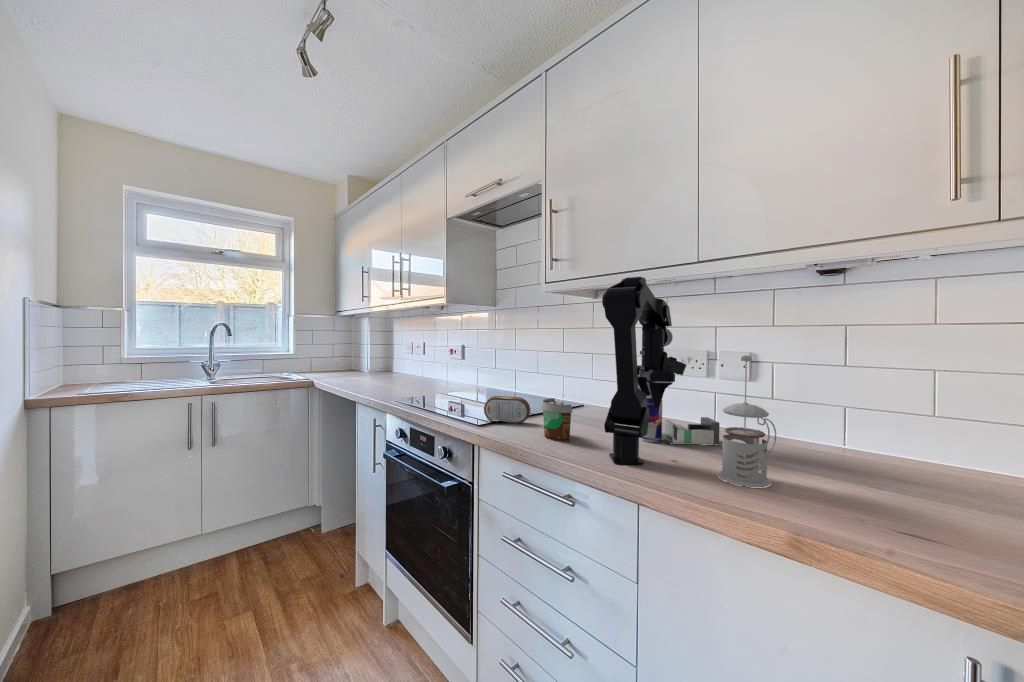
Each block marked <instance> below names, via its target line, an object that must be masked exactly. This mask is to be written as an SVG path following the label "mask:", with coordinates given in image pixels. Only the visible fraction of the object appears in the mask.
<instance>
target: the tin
mask: <svg viewBox="0 0 1024 682" xmlns="http://www.w3.org/2000/svg"><path fill="white" fill-rule="evenodd" d="M483 412H484V415H485V417H486V419H487V420H489V421H490V420H498V421H503V422H507V423H506V424H514V423H519V424H523V423H524V422H525V421H526V420H527V419H528V418H529V417H530V414H531V407H530V404H529V402H528V401H527V400H526V399H525V398H523V397H520V396H505V395H493V396H490V397H489V398H488V400H486V402H485V403H484V407H483Z"/></svg>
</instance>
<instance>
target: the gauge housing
mask: <svg viewBox="0 0 1024 682" xmlns="http://www.w3.org/2000/svg"><path fill="white" fill-rule="evenodd" d="M662 438H663V439H664V440H665V441H666V442H667V443H666V442H665V441H664V440H663V439H662V440H663V441H664V442H665V443H666V444H668V443H669V444H668V445H673V444H719V445H720V422H718V421H716V420H715V419H712V418H710V417H708V416H707V417H705V416H703V417H702V416H701V417H700V424H699V423H687V430H681V429H677V440H675V429H673V439H672V438H671V437H669V436H668V435H667V434H665V433H662ZM671 443H672V444H671Z"/></svg>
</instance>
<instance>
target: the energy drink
mask: <svg viewBox="0 0 1024 682" xmlns="http://www.w3.org/2000/svg"><path fill="white" fill-rule="evenodd" d="M646 396H647V408H649V423H648V432H647V435H645V436H644V437H642V438H640V439H641V440H642V442H645V441H647V442H646V443H650V442H659V443H661V442H662V441H663V439H662V434H663V432H662V431H663V399H662V400H661V403H660V406H659V408H655V407H654V404H653V401H652V398H651V395H646Z"/></svg>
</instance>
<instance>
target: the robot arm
mask: <svg viewBox="0 0 1024 682" xmlns="http://www.w3.org/2000/svg"><path fill="white" fill-rule="evenodd" d="M655 296H656V295H655V294H653V292H652V291H651V289H650V288H649V286H648V284H647V279H646V278H645V277H642V276H629V277H625V278H623V279H622V280H621V281H620V282H618V283H616V284H614V285H611V286H609V287H608V288H607V289H606V290H605V292H604V293H603V295H602V299H601V300H602V301H601V303H602V307H603V309H604V316H605V319H606V320H607V322H608V323H609V324H610V326H611V327H612V329H613V340H614V356H615V371H616V374H615V375H616V387H617V389H616V392H615V394H614V395H613V396H612V399H611V400H610V407H609V409H608V412H607V414H606V419H605V422H604V426H603V427H604V432H605V433H607V434H609V433H610V434H612V435H613V436H612V452H610V453H609V454H608V456H609V458H610V460H611V461H612V462H613V464H619V465H620V464H621V465H644V461H643V459H642V458H641V457H640V455H639V454H640V439H641V438H642V437H644V436H645V435H647V432H648V423H649V408H647V396H646V395H651V398H652V401H653V404H654V407H655V408H659V406H660V403H661V400H662V401H663V397H664V393H665V391H666V389H667V388H668V387H669V386H672V385H673V384H674V382H676V375H680V376H683V375H684V373H685V371H686V368H687V364H686V363H683V362H681V361H678V359H677V358H676V357H673V356H669V357H668V353H667V351H665V347H667V346H669V345H670V344H671V343H672V341H673V334H672V331H671V330H670V329H669V328H667V327H673V323H672V317H671V310H670V305H668V303H667V302H666V301H665V300H664V299H663V298H659V297H655ZM638 322H639V324H640V325H641V330H642V331H641V333H642V335H641V350H639V355H641V364H639V365H638V356H637V355H638V353H637V336H636V334H637V333H636V326H637V323H638Z"/></svg>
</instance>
